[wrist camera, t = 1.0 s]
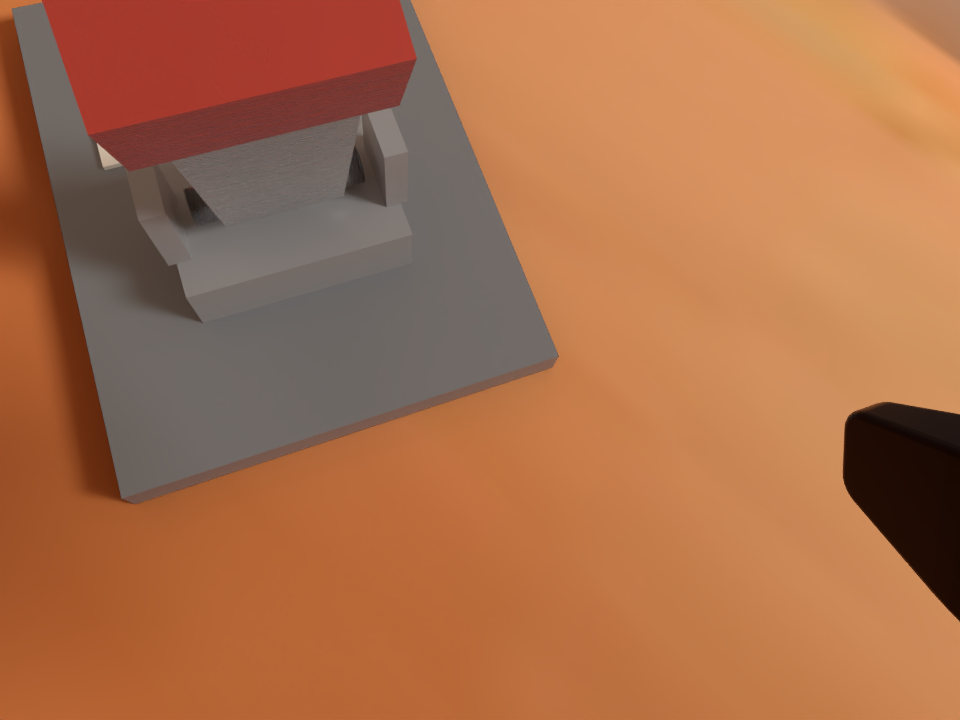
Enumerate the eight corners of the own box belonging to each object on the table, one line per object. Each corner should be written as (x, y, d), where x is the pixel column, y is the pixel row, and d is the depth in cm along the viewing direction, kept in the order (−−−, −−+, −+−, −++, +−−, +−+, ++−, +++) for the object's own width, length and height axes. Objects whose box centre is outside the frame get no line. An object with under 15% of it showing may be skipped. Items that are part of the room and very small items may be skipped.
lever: (369, 203, 20) (432, 55, 10) (206, 247, 19) (69, 139, 9) (347, 130, 20) (384, -106, 9) (180, 171, 19) (10, -36, 8)
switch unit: (552, 367, 22) (591, 299, 17) (135, 504, 20) (50, 468, 15) (384, -40, 27) (379, -183, 22) (26, 32, 24) (-65, -110, 20)
